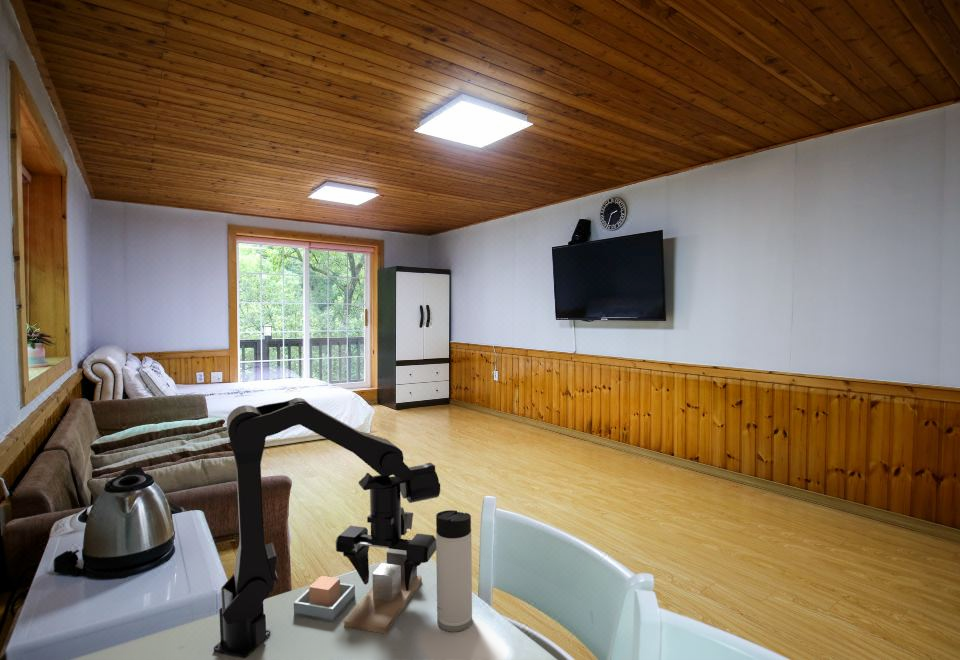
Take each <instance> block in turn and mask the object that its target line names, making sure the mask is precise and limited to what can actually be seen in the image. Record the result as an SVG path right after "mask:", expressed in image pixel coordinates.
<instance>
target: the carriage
mask: <svg viewBox="0 0 960 660" xmlns="http://www.w3.org/2000/svg"><path fill="white" fill-rule="evenodd" d="M372 587H373V599H375V600H381V601H388V602H393V601H394V600H395V598H396V597H397V595H398V594H399V593H400V591H401V566H400V565H393V564H387V563H383V562H381V563H380V565H378V567H377V568H376V569H375V570H374V571H373V573H372Z"/></svg>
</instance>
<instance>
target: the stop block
mask: <svg viewBox="0 0 960 660" xmlns="http://www.w3.org/2000/svg"><path fill="white" fill-rule="evenodd" d="M340 583H341V579H340V578H338V577H333V576H326V575H321V576H319V577H318V578H317V579H316V580H315V581H314V582H313V583H312V584H311V585H310V586H309V587H308V589H309V596H310V604H316V605H322V606H328V607H332V606H333V605H334V604H335V603H336V602H337V601H338V600H339V599H340Z"/></svg>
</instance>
